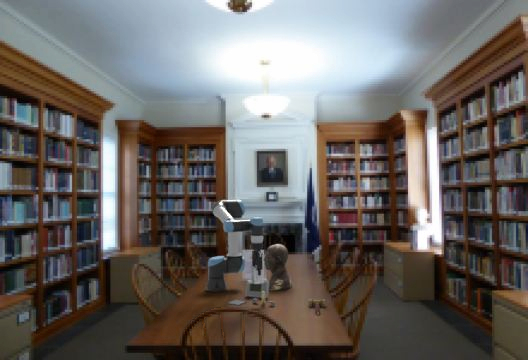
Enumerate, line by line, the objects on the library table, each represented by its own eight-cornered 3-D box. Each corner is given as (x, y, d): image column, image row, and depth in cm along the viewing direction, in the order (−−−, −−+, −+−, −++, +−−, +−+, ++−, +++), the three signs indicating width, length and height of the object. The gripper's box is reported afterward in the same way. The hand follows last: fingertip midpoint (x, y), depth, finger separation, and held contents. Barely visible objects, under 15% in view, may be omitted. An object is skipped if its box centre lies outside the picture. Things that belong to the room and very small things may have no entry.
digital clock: (244, 296, 260) (243, 280, 260) (251, 293, 267) (251, 278, 268) (264, 299, 251) (264, 283, 252) (271, 296, 259) (271, 280, 260)
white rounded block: (249, 284, 237) (249, 266, 238) (247, 282, 243) (246, 264, 243) (268, 282, 241) (267, 264, 242) (265, 280, 247) (264, 263, 247)
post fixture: (252, 303, 243) (252, 290, 244) (254, 302, 245) (254, 289, 246) (272, 306, 236) (272, 293, 236) (274, 305, 238) (274, 292, 238)
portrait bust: (292, 280, 310) (291, 241, 311) (290, 290, 275) (289, 247, 277) (266, 279, 312) (265, 241, 314) (261, 290, 277) (260, 246, 279)
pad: (227, 303, 242) (227, 302, 242) (235, 300, 249) (235, 300, 249) (238, 305, 238) (238, 304, 238) (245, 302, 245) (245, 301, 245)
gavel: (326, 310, 216) (308, 310, 217) (327, 318, 216) (309, 318, 217) (324, 298, 237) (308, 298, 238) (325, 305, 237) (308, 305, 238)
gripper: (267, 243, 235) (268, 282, 235) (257, 240, 253) (258, 275, 252) (256, 244, 233) (256, 283, 232) (246, 240, 251) (247, 276, 250)
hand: (257, 279), depth 242 cm, fingers closed on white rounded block, 6 cm apart
